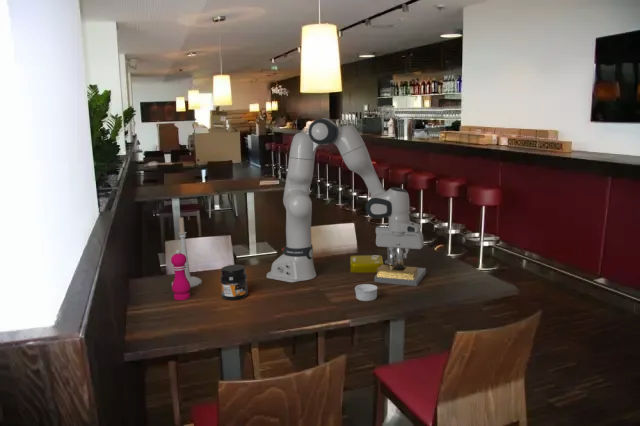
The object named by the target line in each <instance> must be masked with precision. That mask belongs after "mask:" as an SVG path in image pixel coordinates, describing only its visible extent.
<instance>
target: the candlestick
mask: <svg viewBox="0 0 640 426" xmlns="http://www.w3.org/2000/svg"><path fill="white" fill-rule="evenodd" d="M178 226H179V232H178V233H177V234H178V235H179V238H180V253H181V254H184V255H185V256H186V259H187V261H186V263H185V265H186V269H185V275H186V278H187V279H188V281H189V283H190V288H195V287H197V286H199V284H200V285H201V284H202V279H201V278H199V277H198V276H191V272H190V264H189V256H188V248H187V245H186V244H187V243H186V236H187V235H186V234H187V231H185V220H184V217H182V216H180V217H178ZM172 284H173V281H172V282H171V285H172Z"/></svg>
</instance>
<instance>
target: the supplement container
mask: <svg viewBox="0 0 640 426" xmlns="http://www.w3.org/2000/svg"><path fill="white" fill-rule="evenodd" d="M220 274H221V275H220V278H219V279H220V288H221V297H222V298H223V299H224V300H226V301H227V300H228V301H239V300H242V299H245V298H246V297H247V296H248V294H249V291H248V275H247V273H246V267H245V266H244V265H242V264H228V265H225V266H223V267H221V269H220Z"/></svg>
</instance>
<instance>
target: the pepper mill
mask: <svg viewBox="0 0 640 426" xmlns="http://www.w3.org/2000/svg"><path fill="white" fill-rule="evenodd" d="M186 261H187V259H186V256H185V255H184V254H181V249H176V250H175V254H173V255H171V259H170V262H171V264H172V265H173V266H172V269H173V271H174V279H173V281H172V282H173V284H172V283H171V290H172V292H173V293H174V294H173V298H174V300H175V301H185V300H189V298H191V293H190V289H191V287H190V283H189V281H188V279H187V278H186V275H185V269H186V265H185V263H186Z"/></svg>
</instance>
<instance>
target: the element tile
mask: <svg viewBox="0 0 640 426" xmlns="http://www.w3.org/2000/svg"><path fill="white" fill-rule="evenodd" d="M383 260H384V259H383V256H382V255H381V254H377V255H375V254H374V255H369V254H368V255H351V256H350V261H349V262H350V263H349V267H350V269H349V270H350V272H351V273H353V274H354V273H359V274H361V273H377V268H378V267H379V266H381V265H384V261H383Z"/></svg>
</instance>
